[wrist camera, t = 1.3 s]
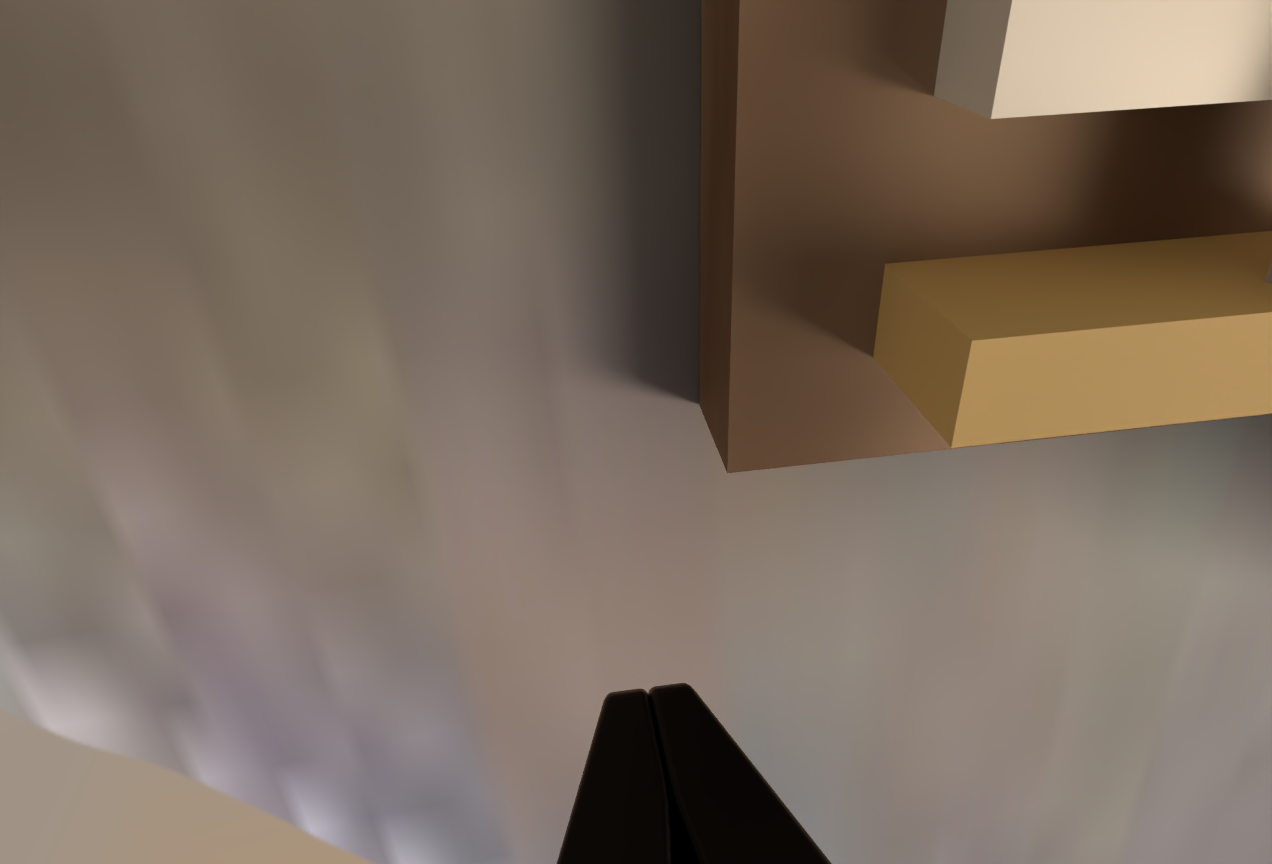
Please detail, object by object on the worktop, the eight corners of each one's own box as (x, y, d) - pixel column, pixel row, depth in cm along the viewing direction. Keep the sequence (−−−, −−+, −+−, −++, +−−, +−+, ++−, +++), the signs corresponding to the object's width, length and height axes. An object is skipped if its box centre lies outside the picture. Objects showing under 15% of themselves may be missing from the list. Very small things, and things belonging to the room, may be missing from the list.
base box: (1748, -620, 13) (2043, -751, 11) (1323, 343, 22) (1430, 397, 20) (704, -646, 12) (760, -805, 9) (699, 405, 21) (727, 472, 18)
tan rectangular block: (1464, -29, 15) (1709, -17, 12) (1317, 314, 18) (1478, 391, 15) (918, 1, 14) (1034, 21, 11) (873, 357, 17) (951, 447, 14)
